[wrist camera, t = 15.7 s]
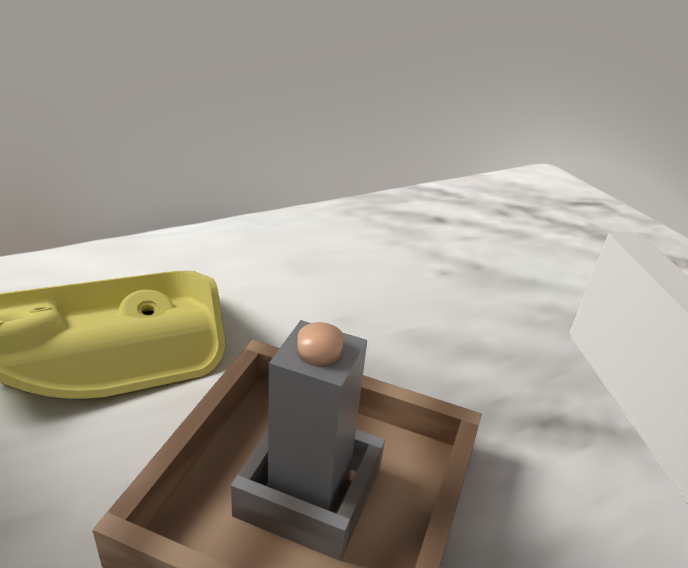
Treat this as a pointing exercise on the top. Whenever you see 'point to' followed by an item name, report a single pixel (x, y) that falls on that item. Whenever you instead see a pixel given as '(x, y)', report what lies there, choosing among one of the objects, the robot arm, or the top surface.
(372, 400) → the box
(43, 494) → the top surface
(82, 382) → the plastic component
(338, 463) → the grey tall block
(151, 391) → the top surface
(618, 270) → the robot arm
